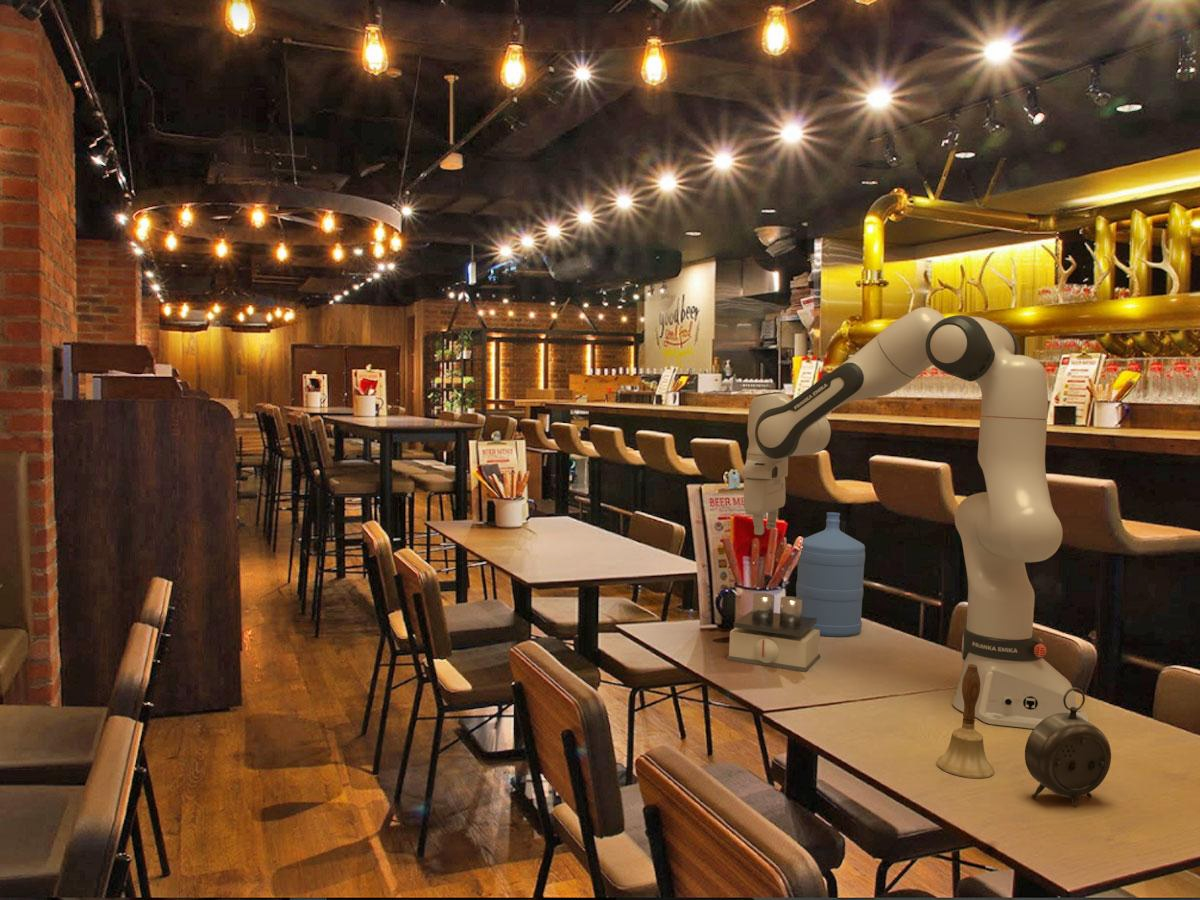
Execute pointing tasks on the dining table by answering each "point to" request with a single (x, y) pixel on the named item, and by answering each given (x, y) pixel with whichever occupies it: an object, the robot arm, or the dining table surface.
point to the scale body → (774, 648)
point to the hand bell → (967, 736)
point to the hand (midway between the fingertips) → (765, 531)
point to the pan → (775, 625)
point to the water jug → (832, 580)
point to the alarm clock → (1067, 754)
